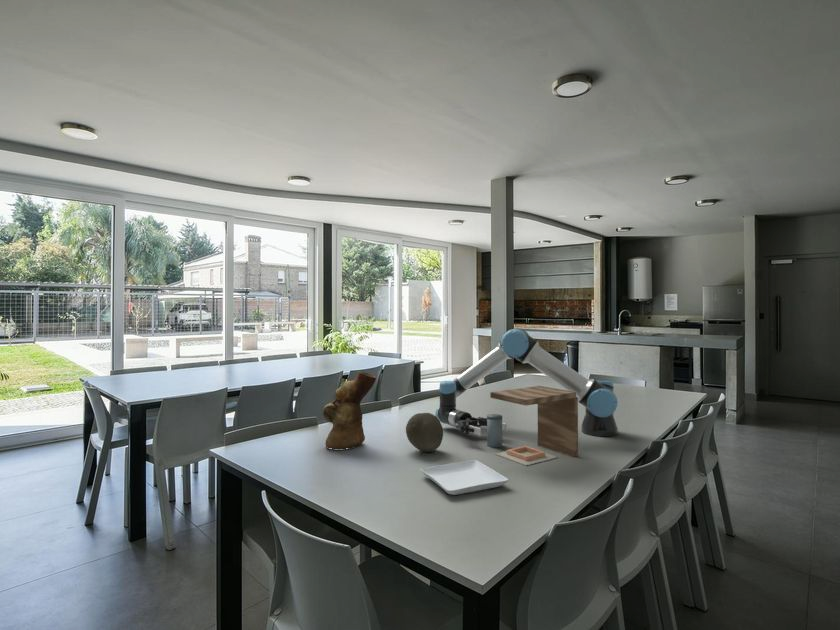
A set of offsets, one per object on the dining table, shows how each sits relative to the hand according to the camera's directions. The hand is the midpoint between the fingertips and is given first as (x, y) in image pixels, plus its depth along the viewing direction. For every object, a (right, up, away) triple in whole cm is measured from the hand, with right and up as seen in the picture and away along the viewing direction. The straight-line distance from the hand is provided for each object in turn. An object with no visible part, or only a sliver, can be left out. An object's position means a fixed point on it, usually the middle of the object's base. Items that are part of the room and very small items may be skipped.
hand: (493, 429), depth 189 cm
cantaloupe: (-28, -7, -8) cm, 30 cm away
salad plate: (-16, -7, -41) cm, 44 cm away
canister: (+1, -6, 0) cm, 6 cm away
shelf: (+13, -6, -15) cm, 21 cm away
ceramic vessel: (-58, -7, +2) cm, 59 cm away
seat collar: (+10, -6, -14) cm, 19 cm away
